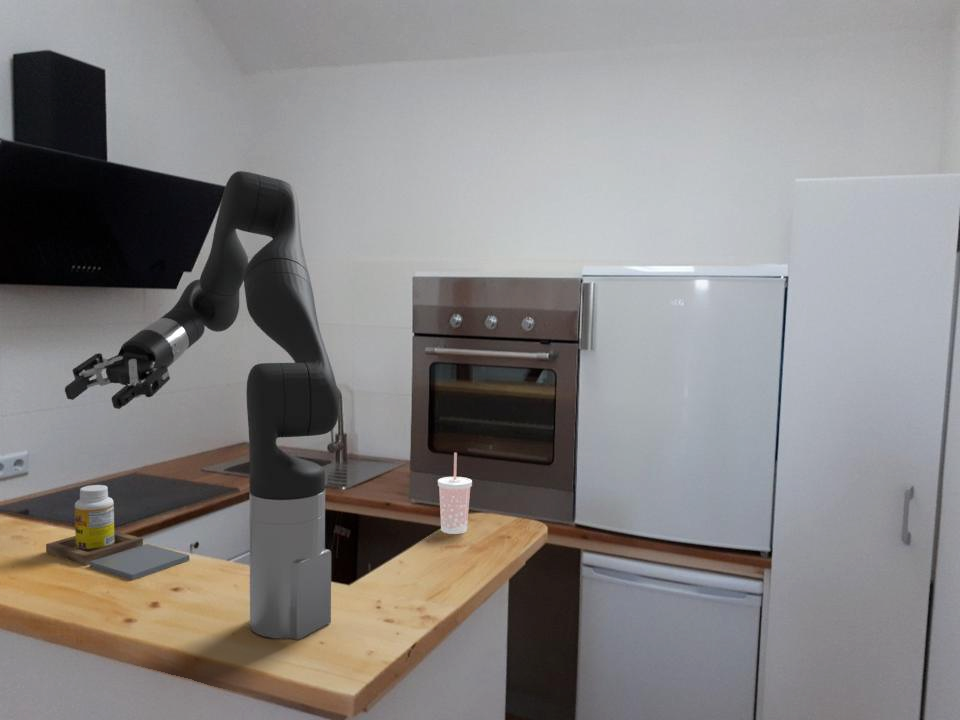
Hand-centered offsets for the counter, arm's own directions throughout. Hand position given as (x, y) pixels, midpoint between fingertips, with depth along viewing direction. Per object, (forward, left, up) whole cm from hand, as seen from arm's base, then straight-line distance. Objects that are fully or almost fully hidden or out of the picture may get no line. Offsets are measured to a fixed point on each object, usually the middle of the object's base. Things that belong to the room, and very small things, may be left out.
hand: (91, 399), depth 121 cm
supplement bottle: (+2, -1, -25) cm, 25 cm away
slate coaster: (-9, -1, -25) cm, 26 cm away
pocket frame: (+2, -1, -25) cm, 25 cm away
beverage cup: (-40, -42, -25) cm, 63 cm away
